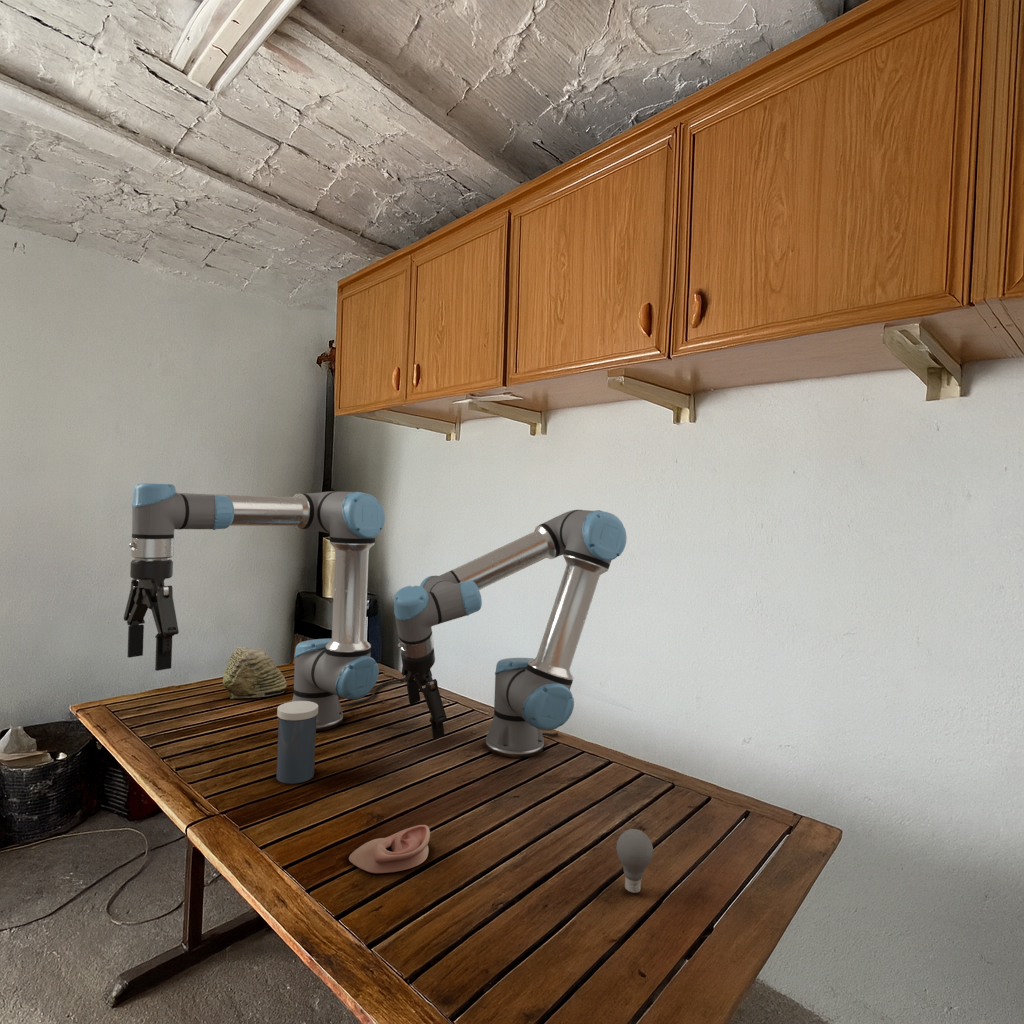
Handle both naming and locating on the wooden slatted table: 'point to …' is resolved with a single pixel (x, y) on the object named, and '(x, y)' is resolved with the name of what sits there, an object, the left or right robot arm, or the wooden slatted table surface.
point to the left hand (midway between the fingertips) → (148, 662)
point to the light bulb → (634, 857)
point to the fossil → (252, 674)
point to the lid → (297, 710)
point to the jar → (296, 750)
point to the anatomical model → (393, 851)
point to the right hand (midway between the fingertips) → (426, 718)
